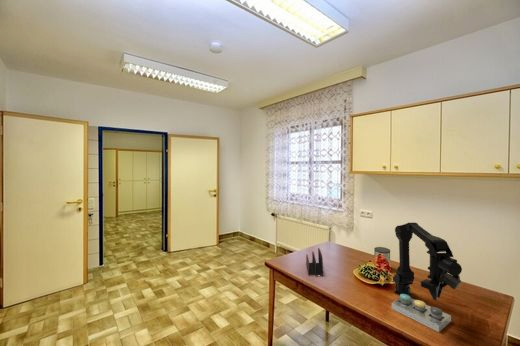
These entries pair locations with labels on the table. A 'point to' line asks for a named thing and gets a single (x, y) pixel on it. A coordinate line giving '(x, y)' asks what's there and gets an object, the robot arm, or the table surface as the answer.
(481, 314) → the table surface
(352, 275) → the table surface
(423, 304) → the button mustard
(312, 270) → the letter holder
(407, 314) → the console panel
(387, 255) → the coffee can
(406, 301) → the button teal
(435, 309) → the button black
